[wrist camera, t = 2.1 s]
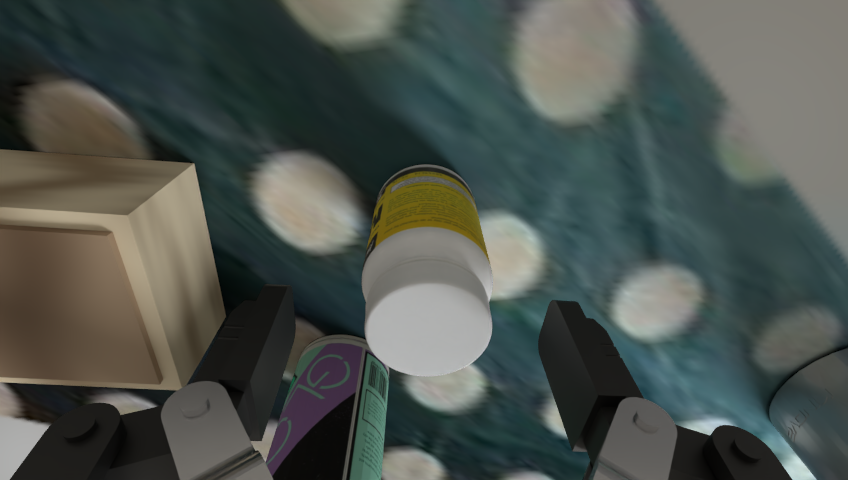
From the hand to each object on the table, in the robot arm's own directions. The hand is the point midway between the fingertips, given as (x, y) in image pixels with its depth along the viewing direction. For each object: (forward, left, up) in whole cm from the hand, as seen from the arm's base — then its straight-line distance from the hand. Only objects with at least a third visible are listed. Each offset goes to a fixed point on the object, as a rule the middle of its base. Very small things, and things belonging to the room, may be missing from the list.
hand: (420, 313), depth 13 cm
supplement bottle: (0, 0, -8) cm, 8 cm away
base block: (+15, +3, -8) cm, 17 cm away
